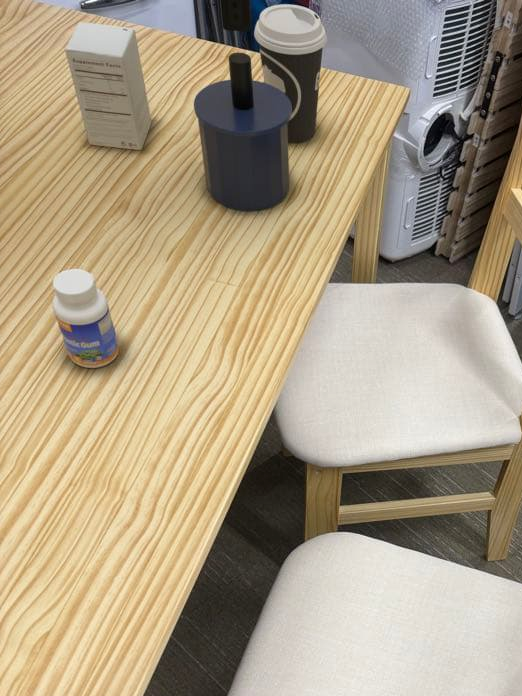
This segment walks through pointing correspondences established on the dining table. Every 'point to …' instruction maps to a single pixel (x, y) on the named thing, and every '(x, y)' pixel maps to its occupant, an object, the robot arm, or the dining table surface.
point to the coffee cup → (293, 61)
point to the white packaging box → (109, 85)
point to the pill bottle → (84, 319)
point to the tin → (246, 168)
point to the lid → (242, 103)
